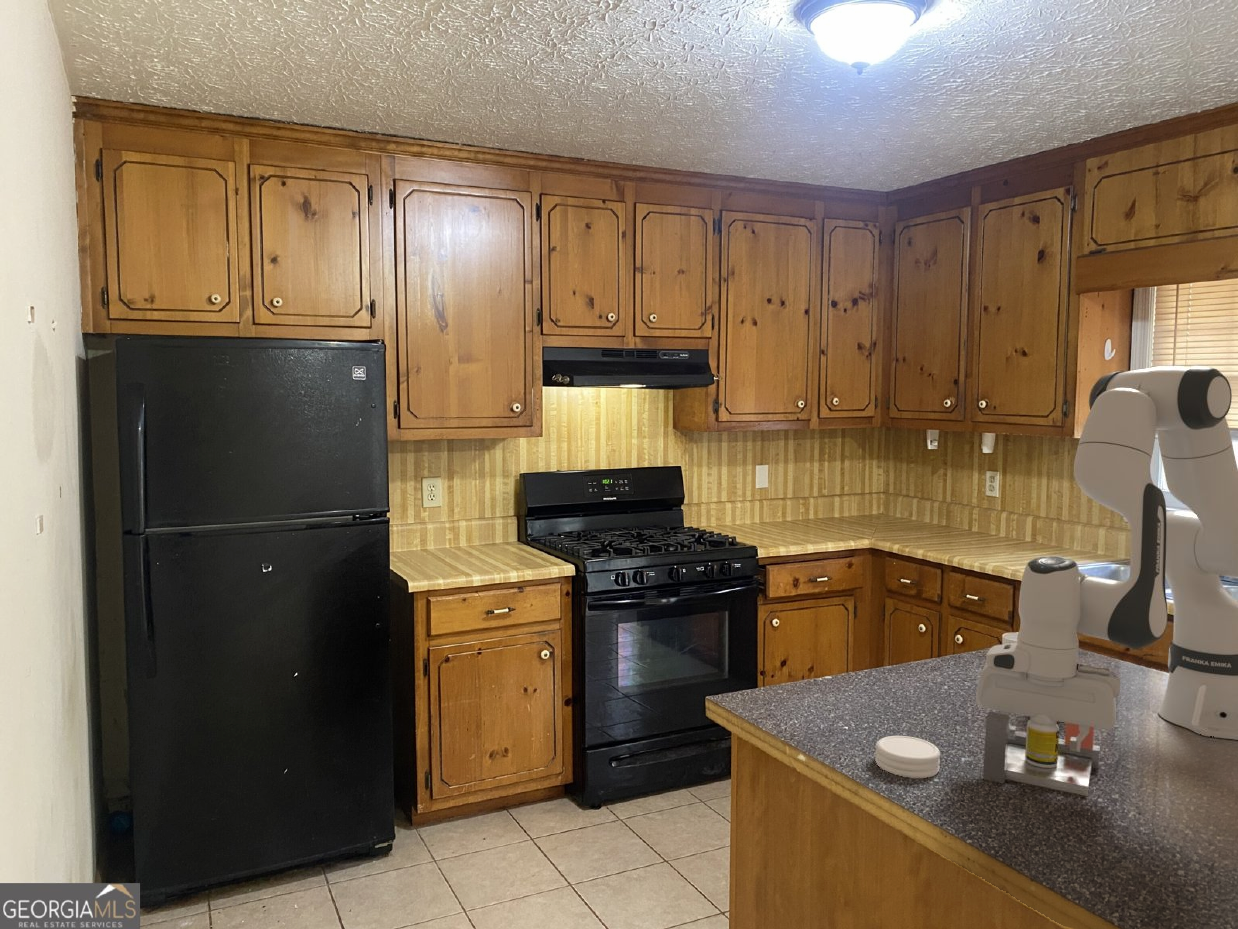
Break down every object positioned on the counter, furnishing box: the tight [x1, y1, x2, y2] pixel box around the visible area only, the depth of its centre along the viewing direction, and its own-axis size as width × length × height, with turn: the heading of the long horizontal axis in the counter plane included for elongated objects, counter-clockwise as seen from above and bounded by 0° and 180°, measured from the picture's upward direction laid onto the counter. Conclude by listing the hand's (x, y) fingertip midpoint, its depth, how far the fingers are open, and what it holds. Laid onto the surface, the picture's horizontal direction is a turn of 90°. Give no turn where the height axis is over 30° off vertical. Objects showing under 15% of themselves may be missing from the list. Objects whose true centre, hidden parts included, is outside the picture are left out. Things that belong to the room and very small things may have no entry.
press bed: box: [982, 711, 1101, 797], centre depth 145 cm, size 16×17×10 cm
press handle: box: [1064, 722, 1095, 750], centre depth 148 cm, size 4×4×5 cm
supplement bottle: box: [1025, 715, 1060, 768], centre depth 144 cm, size 5×5×8 cm
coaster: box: [874, 735, 941, 779], centre depth 146 cm, size 10×10×4 cm
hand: (1042, 744), depth 144 cm, fingers open, 8 cm apart
